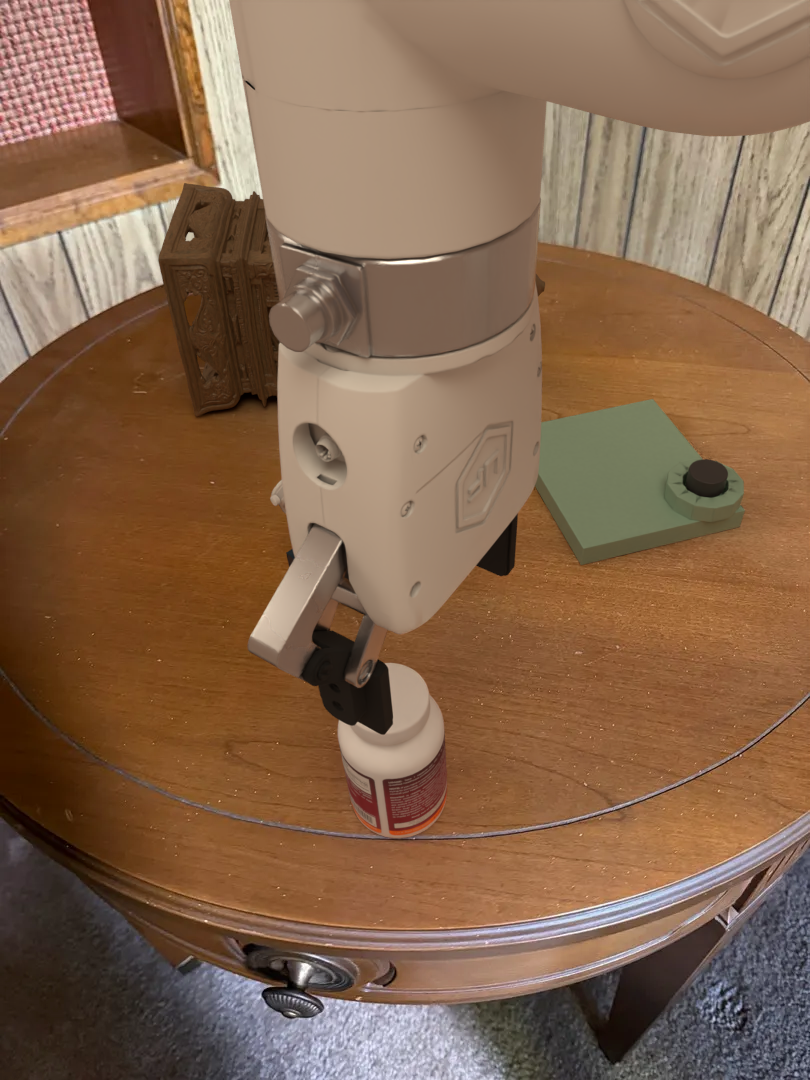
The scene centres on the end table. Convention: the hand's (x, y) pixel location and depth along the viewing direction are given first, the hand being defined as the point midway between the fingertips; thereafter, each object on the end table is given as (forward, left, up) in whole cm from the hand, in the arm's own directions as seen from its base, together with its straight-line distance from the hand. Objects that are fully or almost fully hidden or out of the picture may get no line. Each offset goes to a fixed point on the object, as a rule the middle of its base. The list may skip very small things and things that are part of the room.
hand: (423, 632), depth 37 cm
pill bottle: (+4, +1, -21) cm, 22 cm away
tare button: (+21, -29, -18) cm, 41 cm away
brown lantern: (+52, -9, -21) cm, 57 cm away
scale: (+27, -25, -21) cm, 42 cm away
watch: (+24, +1, -21) cm, 32 cm away
